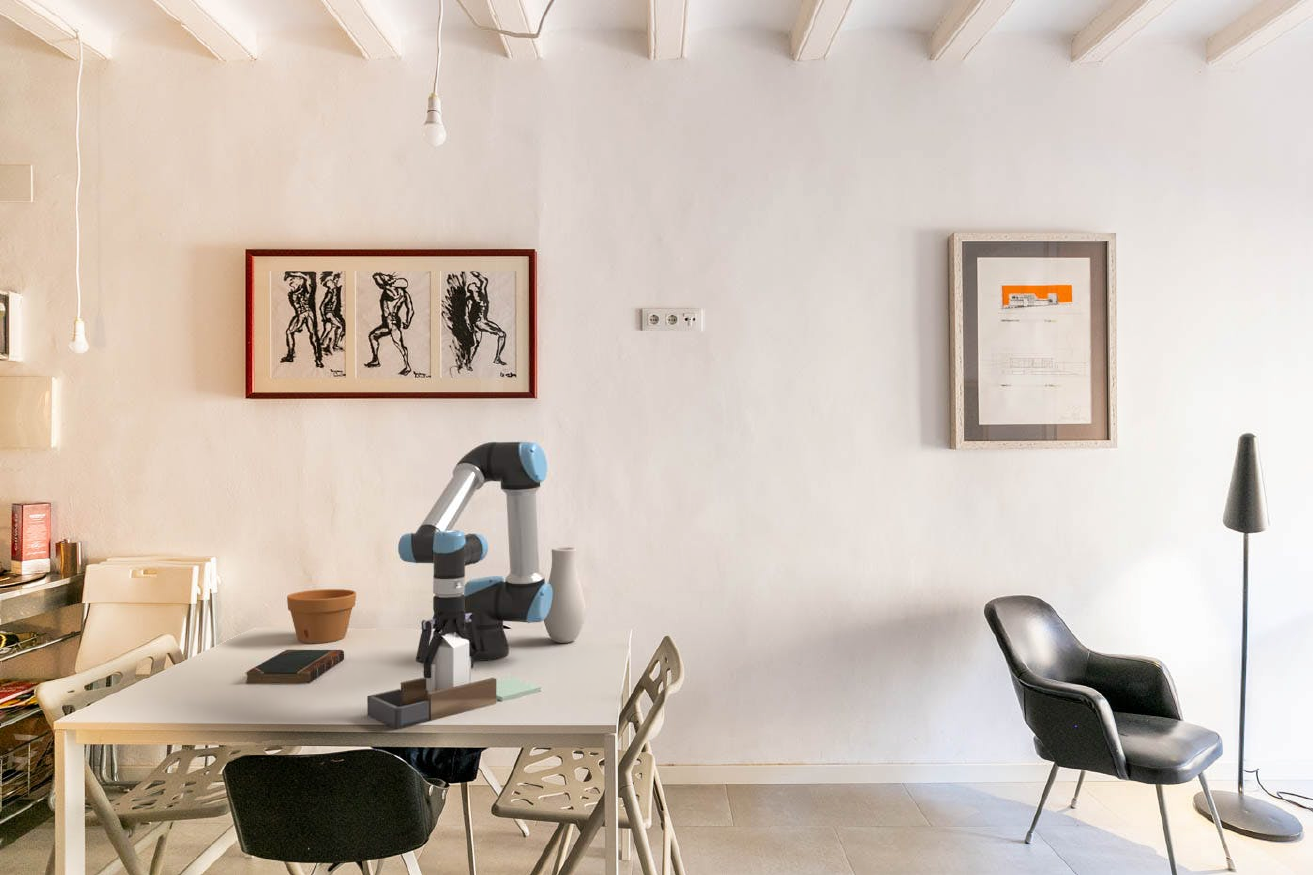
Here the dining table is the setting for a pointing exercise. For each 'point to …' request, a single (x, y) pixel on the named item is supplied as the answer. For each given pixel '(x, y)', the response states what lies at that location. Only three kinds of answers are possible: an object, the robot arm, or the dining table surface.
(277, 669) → the book
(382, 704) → the bin
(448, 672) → the milk carton
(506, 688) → the pad
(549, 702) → the dining table surface
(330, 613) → the flower pot
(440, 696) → the channel
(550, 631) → the vase
